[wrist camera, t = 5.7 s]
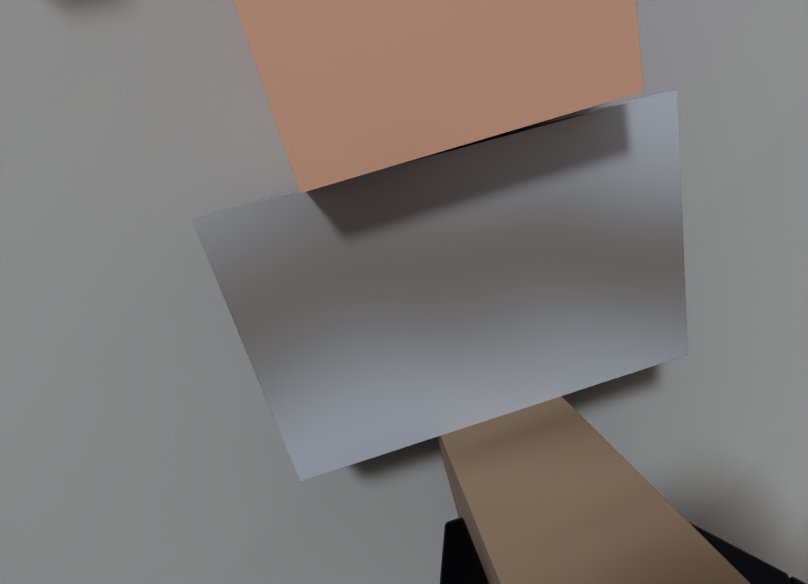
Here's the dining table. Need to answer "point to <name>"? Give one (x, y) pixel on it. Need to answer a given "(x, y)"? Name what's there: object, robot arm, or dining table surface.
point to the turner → (484, 332)
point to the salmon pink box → (429, 73)
